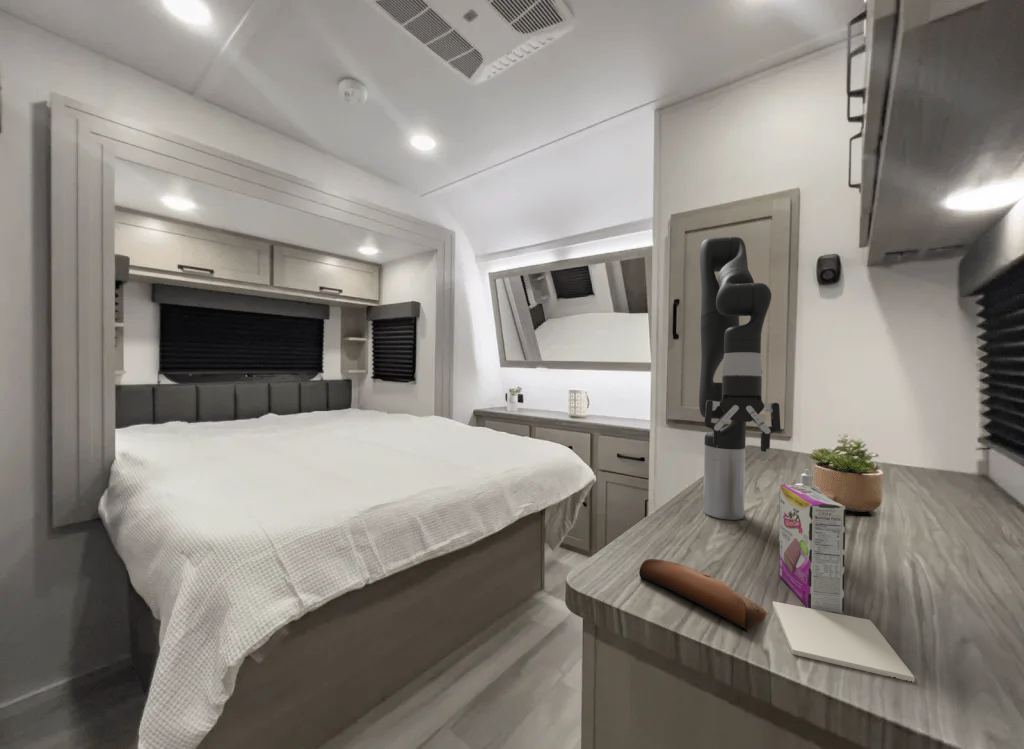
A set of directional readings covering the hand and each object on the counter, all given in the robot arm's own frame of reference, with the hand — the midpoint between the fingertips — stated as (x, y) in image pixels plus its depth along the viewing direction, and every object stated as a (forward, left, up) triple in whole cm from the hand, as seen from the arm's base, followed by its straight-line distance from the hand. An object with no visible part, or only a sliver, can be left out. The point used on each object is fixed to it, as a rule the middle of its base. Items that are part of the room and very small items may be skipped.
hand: (740, 449), depth 89 cm
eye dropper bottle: (-22, +17, -19) cm, 34 cm away
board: (+33, +7, -19) cm, 39 cm away
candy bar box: (+21, +7, -19) cm, 30 cm away
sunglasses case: (+29, -9, -20) cm, 36 cm away
